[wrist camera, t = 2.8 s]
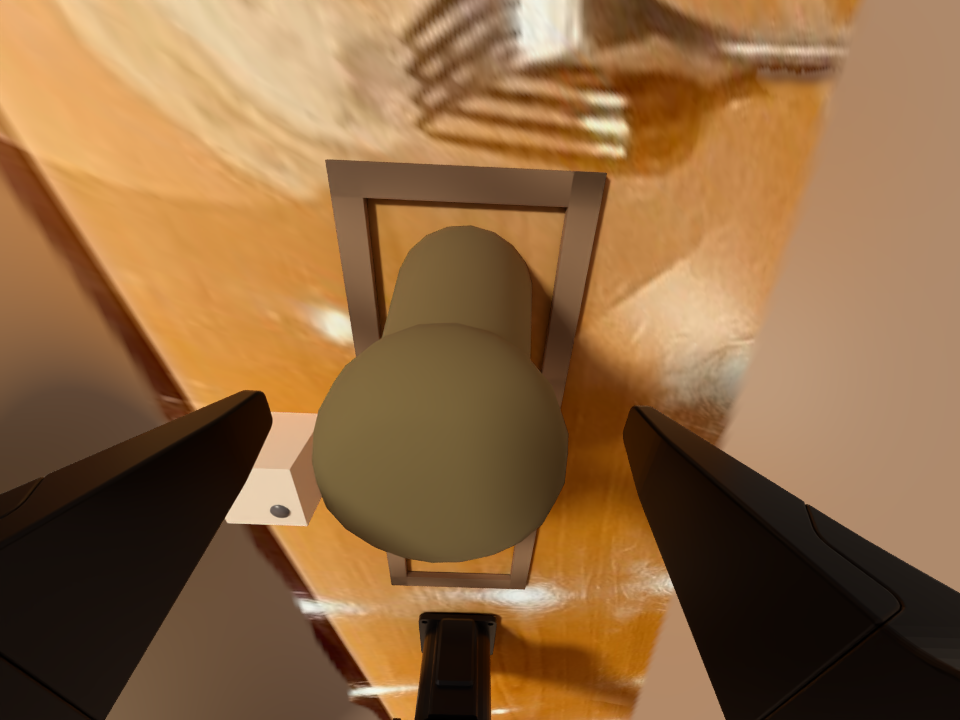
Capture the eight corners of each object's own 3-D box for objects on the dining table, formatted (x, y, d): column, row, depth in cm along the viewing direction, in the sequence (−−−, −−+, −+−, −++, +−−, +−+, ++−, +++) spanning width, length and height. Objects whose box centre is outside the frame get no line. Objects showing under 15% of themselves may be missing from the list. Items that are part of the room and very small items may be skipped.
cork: (545, 234, 14) (671, 387, 5) (520, 361, 17) (566, 614, 8) (395, 216, 14) (203, 341, 4) (397, 349, 17) (284, 595, 7)
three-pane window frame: (524, 583, 27) (524, 589, 27) (392, 579, 27) (391, 585, 27) (603, 172, 13) (606, 173, 13) (329, 159, 13) (325, 159, 13)
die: (336, 465, 21) (306, 527, 18) (269, 462, 21) (226, 524, 17) (324, 413, 19) (288, 470, 16) (250, 409, 19) (197, 467, 15)
